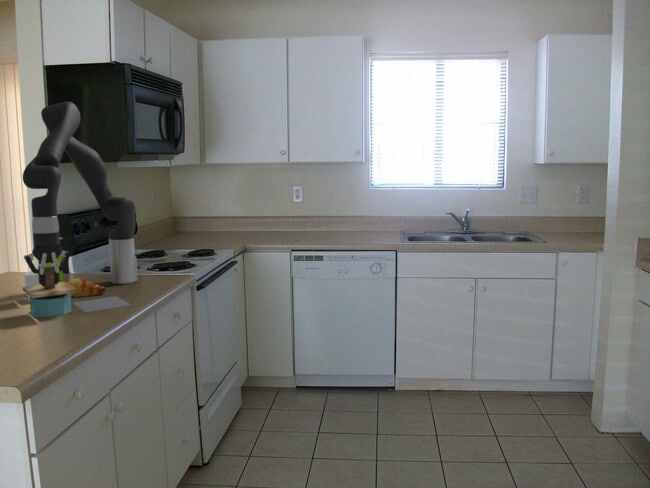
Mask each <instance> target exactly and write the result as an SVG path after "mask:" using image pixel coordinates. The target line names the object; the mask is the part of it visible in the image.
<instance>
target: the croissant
mask: <svg viewBox="0 0 650 488" xmlns="http://www.w3.org/2000/svg"><path fill="white" fill-rule="evenodd" d="M65 282H67V283H68V284H70V285H72V286H73V287H75V288H76V289H77V292H75V293H69V294H71V298H73V297H74V298H77V297H78V298H79V297H81V298H82V297H88V296H89V297H91V296H100V295H101V294H103V293H105V292H106V290H107V289H106V286H100V285H98V284H93V283H92V282H91V281H88V280H87V281H86V279H84V278H83V277H76V278H72V279H71V280H70V281H65Z"/></svg>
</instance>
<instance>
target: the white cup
mask: <svg viewBox="0 0 650 488" xmlns="http://www.w3.org/2000/svg"><path fill="white" fill-rule="evenodd" d="M23 275H24V283H25V287H28V286H36V285H41V284H39V277H38V274H37V273H33V272H32V271H31V270H30V271H27V272H25V273H24V274H23ZM26 295H27V301H28V302H30V296H29V295H28V294H27V293H26Z"/></svg>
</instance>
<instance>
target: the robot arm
mask: <svg viewBox="0 0 650 488" xmlns="http://www.w3.org/2000/svg"><path fill="white" fill-rule="evenodd" d="M40 114H41V118H42V121H43V123H44V126H45V127H46V129H47V130H48V131H49V133H50V134H48V135H47V137H45V138H44V139H43V140H42V142H41V143H40V146H39V148H38V150H37V154H36V156H35V157H33V158H32V160H31V161H30V162H29V163H28V164H27V166H25V168H24V169H23V173H22V181H23V183H24V185H25V186H26V187H27V188H29V189H31V190H47V191H46V193H45V194H44V195H42V196H41V195H40V196H36V197H34V198H32V199H31V201H30V202H31V203H30V204H31V215H32V219H31V227H32V228H31V229H32V231H31V232H32V241H33V242H32V243H33V244H32V245H33V249H32V251H31V252H30V253H29V254H27V255H26V254H25V255H24V256H23V259H24V261H25V262H26V264H27V266H28V268H29V269H30V271H32V272H33V273H37V274H38V277H39V284H41V285H42V286H45V275H44V267H45V263H51V265H52V267H54V275H55V285H57V284H58V282H59V281H60V279H59V272H60V271H62V270H63V271H65V270H66V267H67V265H68V262H69V259H70V257H71V252H69V251H66V250H62V248H61V244H60V243H61V242H60V238H59V237H60V225H59V220H58V219H59V217H58V209H57V208H58V207H57V205H58V204H57V200H58V193H59V189H60V186H61V181H62V173H61V172H60V169H59V166H60V163H61V161H62V159H63V155H64V152H65V153H66V155H67V156H68V157H69V159H70V160H71V163H72V164H73V165H74V167H75V169H76V171H77V172H78V174H79V175H80V177H81V178H82V179H83V180H84V182H85V183H86V185H87V187H88V188H89V190H90V192H91V193H92V195H93V197H94V199H95V200H96V203H97V204H98V207H99V208H100V210H101V212H102V214H103V215H104V217H105V218H106V219H108V220H110V221H113V222H114V221H115V222H117V224H116V227H115V228H114V229H112V230H110V231H109V232H108V246H109V267H110V270H109V271H110V282H111V283H112V284H116V285H117V284H118V285H121V284H122V285H123V284H131V283H135V282H138V265H137V264H138V262H137V261H138V260H137V256H136V255H135V239H134V237H135V235H134V234H135V232H136V231H135V230H136V207H135V203H134V201H133V199H131V198H130V197H126V196H124V197H120V196H115V195H114V194H113V193H112V191H111V189H110V188H109V186H108V185H109V184H108V169H107V166H106V165H105V163H104V162H103V160H102V158H101V156H100V154H98V152H97V151H96V150H94V149H93V148H92V147H90V146H88V145H86V144H85V143H83V142H81V141H79V140H77V139H76V138H75V137H74V134H75V133H76V131H77V129H78V128H79V126H80V124H81V113H80V111H79V107H77V106H76V104H75V103H73V102H71V101H63V102H58V103H55V104H50V105H48V106H46V107H43V108H42V110H41V112H40ZM60 255H62V261H61V263H60V266H59V267H58V262H57V259H58V257H59V256H60ZM34 258H35V259H36V260H37V261H38V263H37V268H36V266H35V264H34V262H33V260H34Z"/></svg>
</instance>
